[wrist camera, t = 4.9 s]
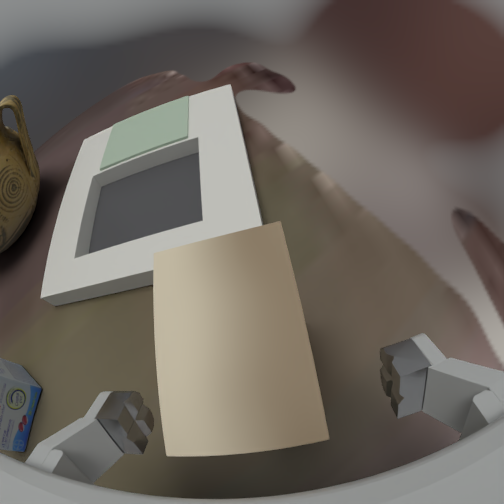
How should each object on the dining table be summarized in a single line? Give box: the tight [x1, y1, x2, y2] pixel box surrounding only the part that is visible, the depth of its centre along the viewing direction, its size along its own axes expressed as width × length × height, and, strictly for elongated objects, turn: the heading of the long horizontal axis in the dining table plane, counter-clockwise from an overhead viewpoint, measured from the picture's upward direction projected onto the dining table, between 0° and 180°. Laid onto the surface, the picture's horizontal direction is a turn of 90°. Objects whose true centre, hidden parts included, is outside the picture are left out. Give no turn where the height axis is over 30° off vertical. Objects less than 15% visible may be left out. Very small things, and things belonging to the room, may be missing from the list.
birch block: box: [153, 221, 329, 456], centre depth 12 cm, size 4×6×11 cm, turn 9°
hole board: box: [41, 85, 263, 306], centre depth 26 cm, size 20×22×2 cm
